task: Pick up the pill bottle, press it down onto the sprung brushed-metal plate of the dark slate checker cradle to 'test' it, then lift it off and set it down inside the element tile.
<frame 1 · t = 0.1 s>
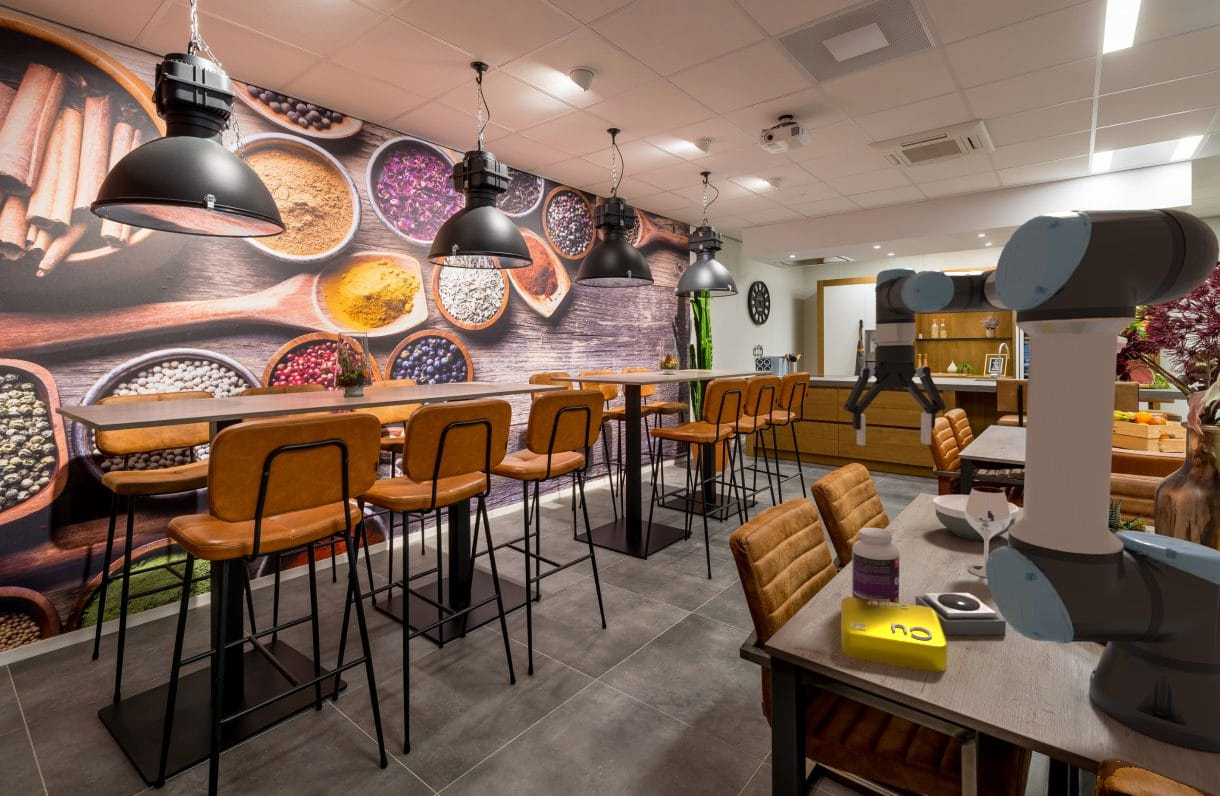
hand: (893, 444, 122), 28 cm above the table, fingers open, 13 cm apart
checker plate: (958, 607, 101), point 2 cm above the table, slide at -0.1 cm
bowl: (973, 535, 147), on the table
checker cradle: (958, 621, 102), on the table
pill bottle: (874, 607, 108), on the table
element tile: (889, 645, 95), on the table
wineglass: (985, 573, 123), on the table
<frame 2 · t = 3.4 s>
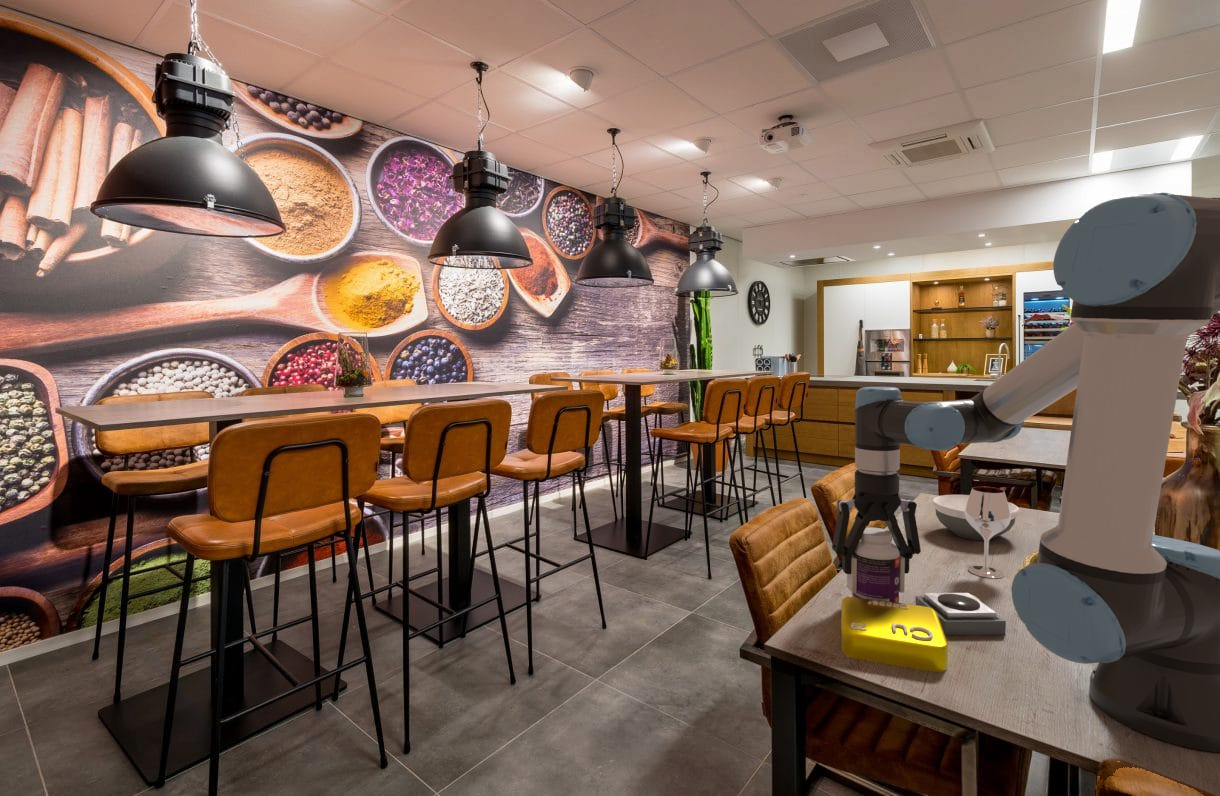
hand: (875, 589, 108), 3 cm above the table, fingers closed on pill bottle, 8 cm apart
pill bottle: (874, 607, 108), on the table, touching gripper
everything else where it was.
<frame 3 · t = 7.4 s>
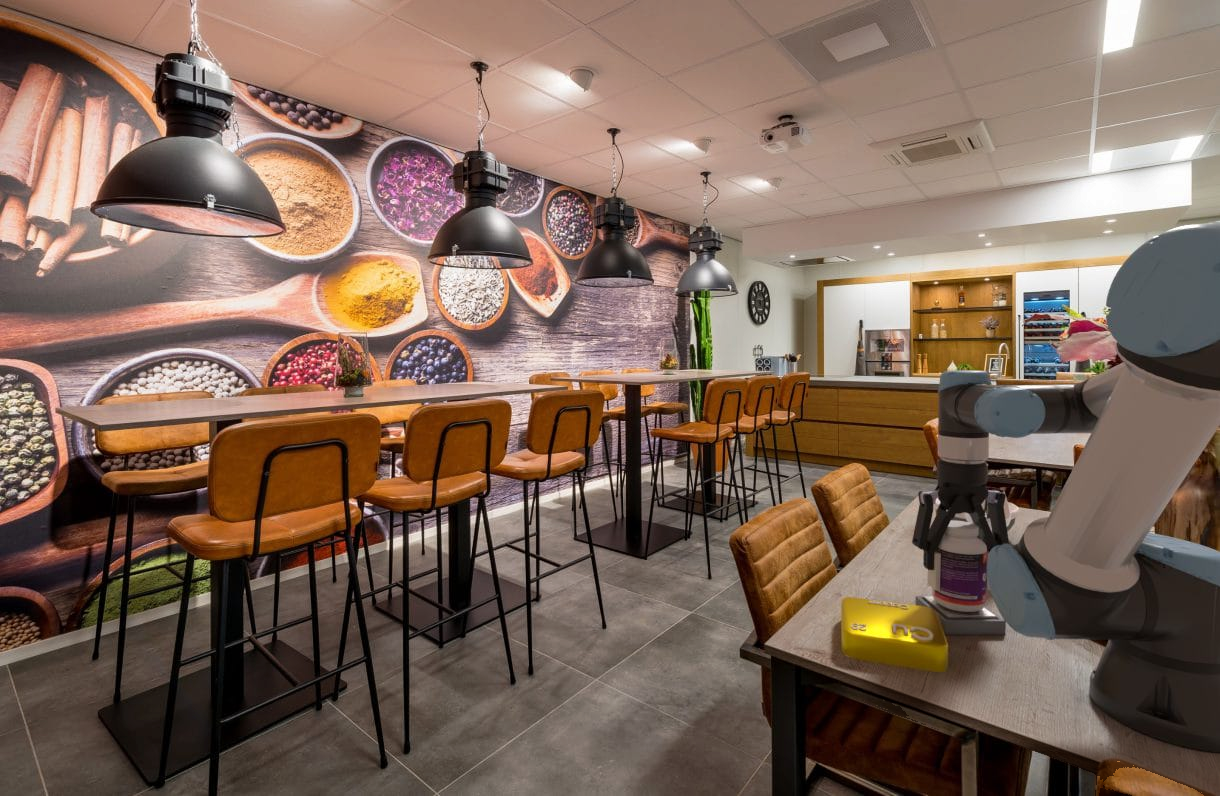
hand: (958, 586, 101), 6 cm above the table, fingers closed on pill bottle, 8 cm apart
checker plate: (958, 610, 101), point 2 cm above the table, slide at -0.7 cm, touching pill bottle
pill bottle: (958, 605, 101), point 3 cm above the table, touching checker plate, gripper
everything else where it was.
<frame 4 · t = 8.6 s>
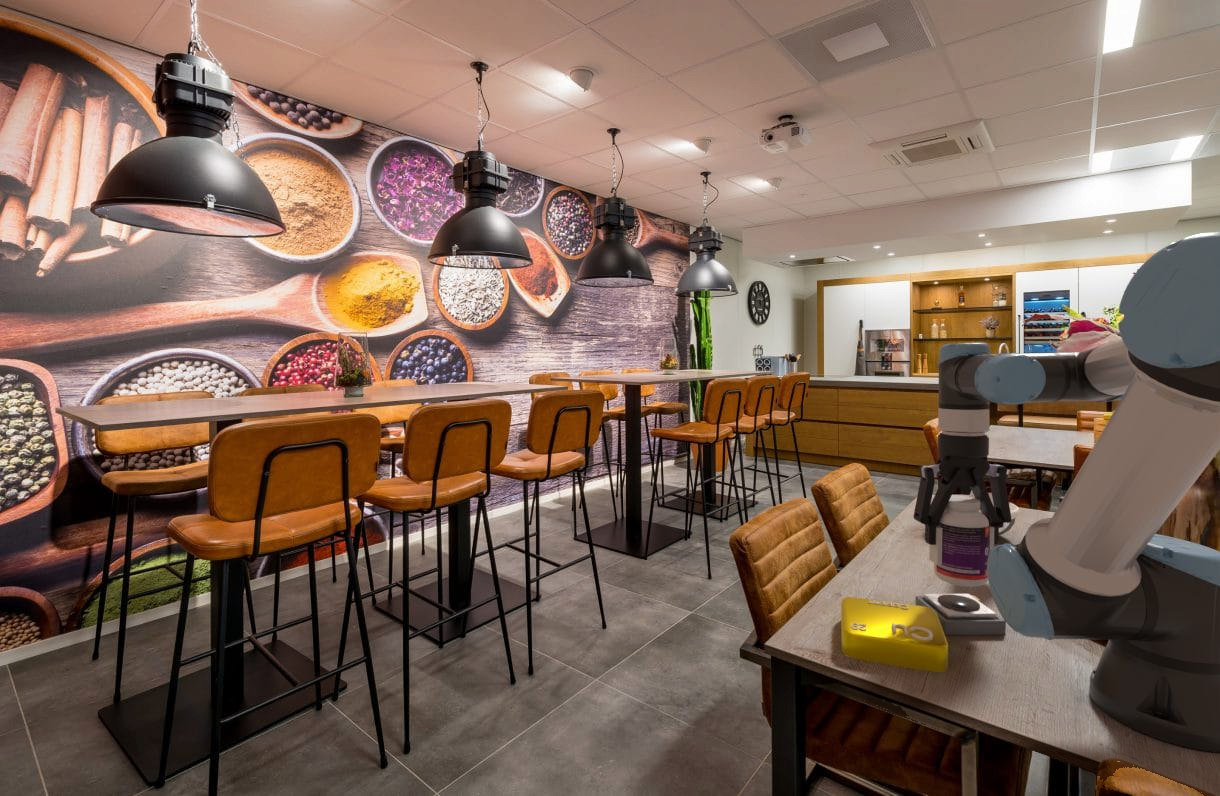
hand: (961, 562, 100), 11 cm above the table, fingers closed on pill bottle, 8 cm apart
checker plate: (958, 608, 101), point 2 cm above the table, slide at -0.3 cm
pill bottle: (960, 581, 100), point 7 cm above the table, touching gripper
everything else where it was.
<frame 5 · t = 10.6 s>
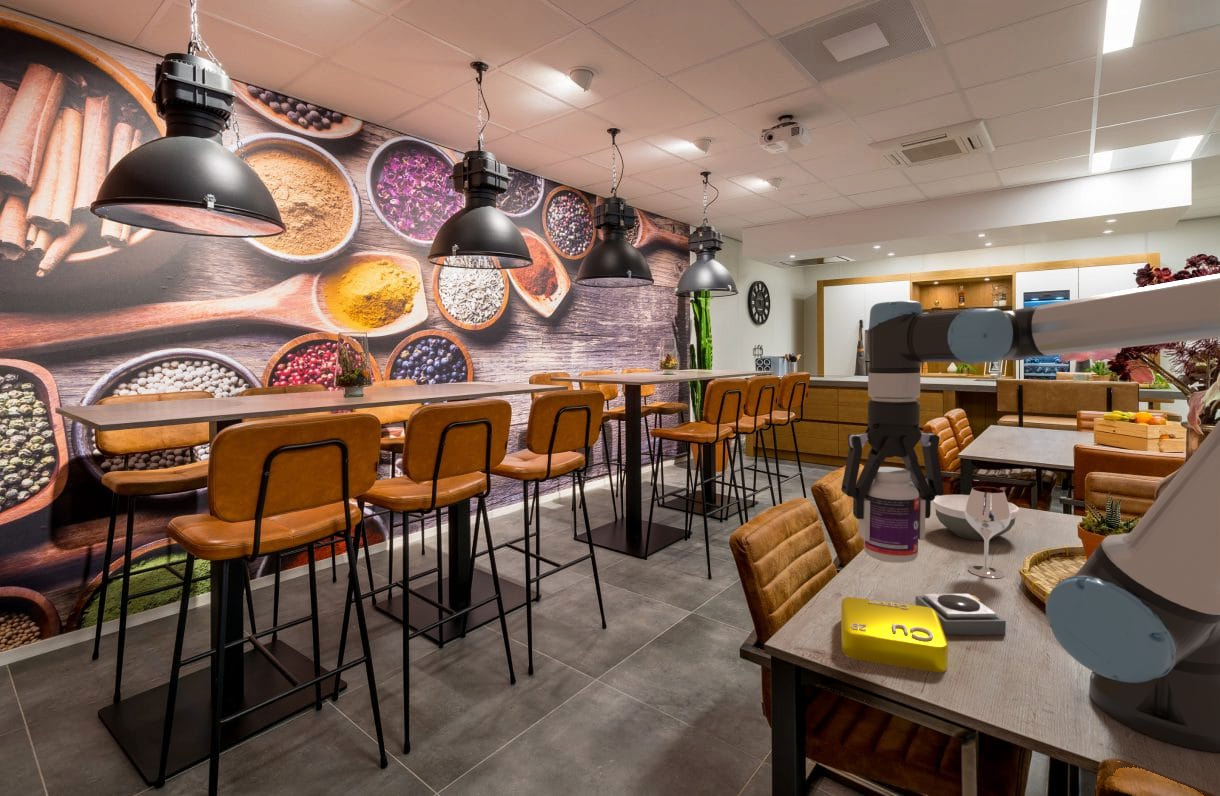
hand: (890, 537, 94), 18 cm above the table, fingers closed on pill bottle, 8 cm apart
pill bottle: (889, 557, 94), point 14 cm above the table, touching gripper
everything else where it was.
when the fingers open (7 cm above the table, at t = 12.4 s): pill bottle stays where it is, resting on element tile.
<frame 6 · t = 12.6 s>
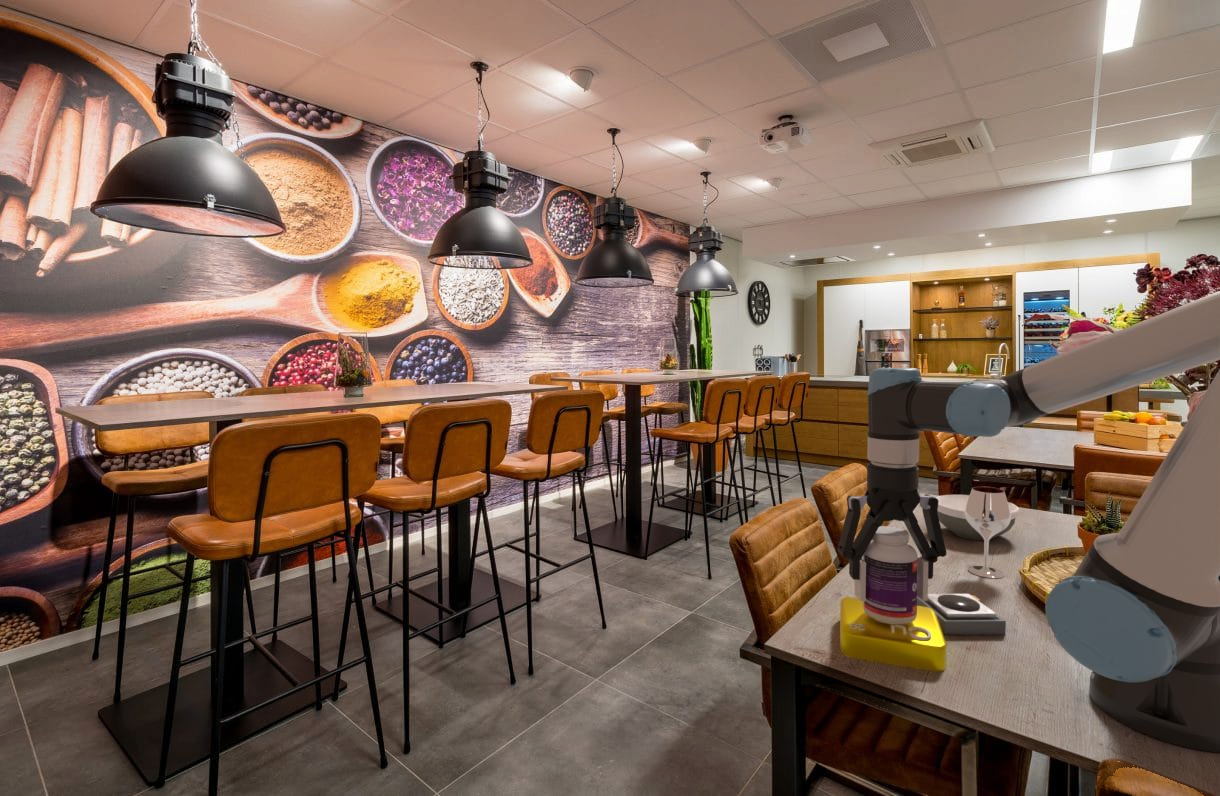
hand: (890, 597, 95), 8 cm above the table, fingers open, 9 cm apart
pill bottle: (889, 617, 95), point 4 cm above the table, touching element tile
element tile: (888, 645, 95), on the table, touching pill bottle
everything else where it was.
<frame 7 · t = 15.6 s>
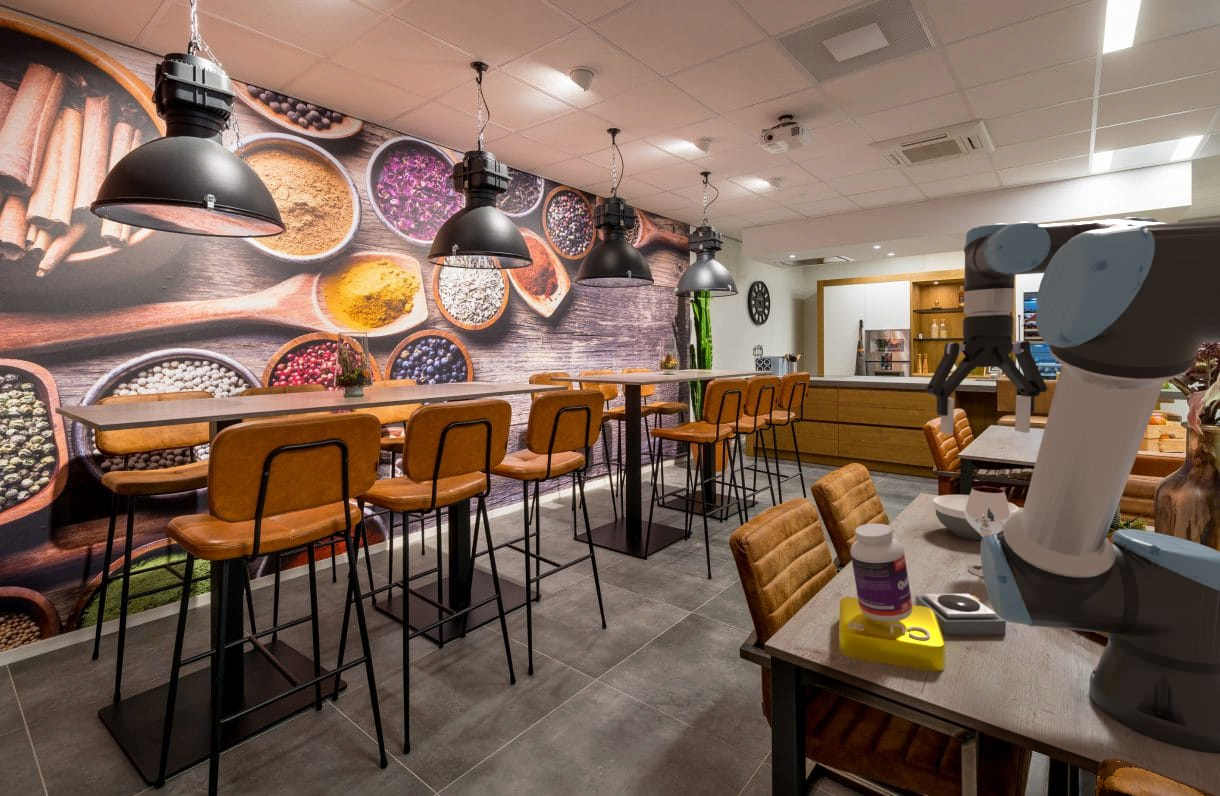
hand: (984, 432, 104), 33 cm above the table, fingers open, 13 cm apart
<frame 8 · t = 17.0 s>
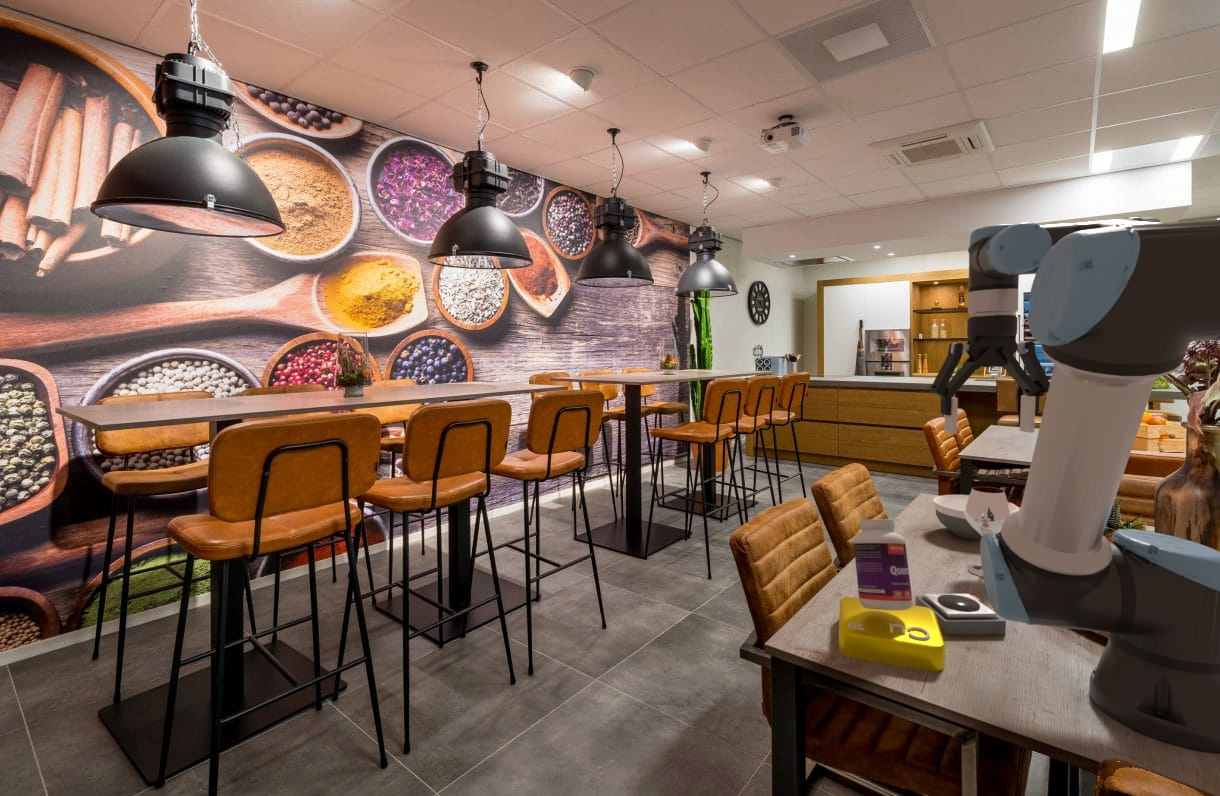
hand: (988, 432, 105), 33 cm above the table, fingers open, 13 cm apart
pill bottle: (886, 610, 95), point 5 cm above the table
element tile: (887, 645, 95), on the table
everything else where it was.
at the end: pill bottle 0.5 cm from the element tile (horizontally); pill bottle tilted 23°; the gripper is holding nothing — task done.
